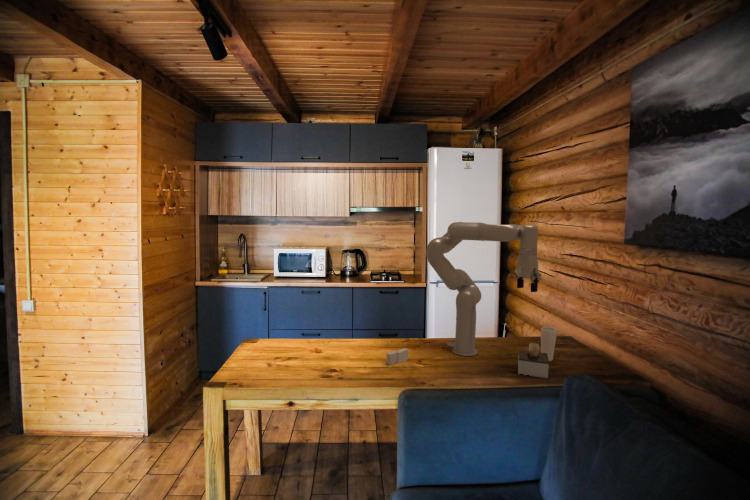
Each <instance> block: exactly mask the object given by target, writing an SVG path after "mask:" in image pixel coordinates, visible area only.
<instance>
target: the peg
mask: <svg viewBox="0 0 750 500" xmlns="http://www.w3.org/2000/svg"><path fill="white" fill-rule="evenodd" d="M539 348H540V344H539V343H536V342H530V343H529V344H528V351H529V354H528V357H532V358H538V352H540V351H539Z"/></svg>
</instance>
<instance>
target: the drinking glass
mask: <svg viewBox="0 0 750 500" xmlns="http://www.w3.org/2000/svg"><path fill="white" fill-rule="evenodd" d="M557 335H558V334H557V328H553V327H550V326H543V327H541V329H540V352H541V353H547V355H548V360H549V362H552V361H553V360H554V353H555V348H556V341H557Z"/></svg>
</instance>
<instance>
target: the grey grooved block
mask: <svg viewBox="0 0 750 500" xmlns="http://www.w3.org/2000/svg"><path fill="white" fill-rule="evenodd" d="M408 360H409V348H406V347H403V348H401V349H397V350H395V351H394V350H392V351H390V352H386V365H389V366H392V365H394V364H401V363H403V362H405V361H408Z"/></svg>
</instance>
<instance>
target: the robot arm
mask: <svg viewBox="0 0 750 500" xmlns="http://www.w3.org/2000/svg"><path fill="white" fill-rule="evenodd" d="M538 237H539V227H538V226H537V225H536V224H534V225H533V224H524V225H520V224H515V223H510V224H489V223H484V222H465V221H464V222H463V221H457V222H456V221H455V222H453V223H450V224H449V225H448V227H447V232H446V233H444V234H443V235H442V236H439V237H435V238H432V239H431V240H430V241H429V242H428V244H427V247H426V250H425V254H426V255H425V256H426V260H427V262H428V263H429V265H430V266H431V268H432V269H433V270H434V271H435V272H436V274H437V275H438V277H439V278H440V280H441V281H442V282H443V284H444V285H445V286H446V288H448V290H450V291H457V295H456V297H455V308H456V314H455V316H456V317H455V320H456V321H455V336H454V338H455V340H454V341H448V340H446V343H445V345H446V346H447V347H449V348H450V347H451V352H452V353H453V354H455V355H457V356H463V357H474V356H476V355H478V349H477V348H475V347H476V345H475V344H476V330H477V329H476V328H477V305H478V304H479V302H481V300H482V292H481V290H480V288H479V287H478V286H477V284H476V283H475V281H473V279H472V278H471V277H470V275H469V274H468V273H467V272H466V271H464V270H463V269H460V268H455V267H454V265H453V264H452V263H451V262H450V260H449V259H448V258H447V257H445V254H448V253H450V252H451V251H453V249H454V248H456V247H457V246H458V245H459V244H460V243H461V242H462V241H480V242H487V241H489V242H503V243H504V242H506V243H507V242H509V243H510V242H513V241H519V250H518V251H519V252H518V256H517V261H516V268H515V269H514V272H515V273H514V274H515V277H516V288H517V289H524V285H525V279H530V282H531V283H530V293H536V292H538V289H539V288H538V284H539V283H540V280H541V277H542V273H541V272H540V271H539V260H538V259H539V258H538V243H539V242H538ZM524 278H525V279H524Z"/></svg>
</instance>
